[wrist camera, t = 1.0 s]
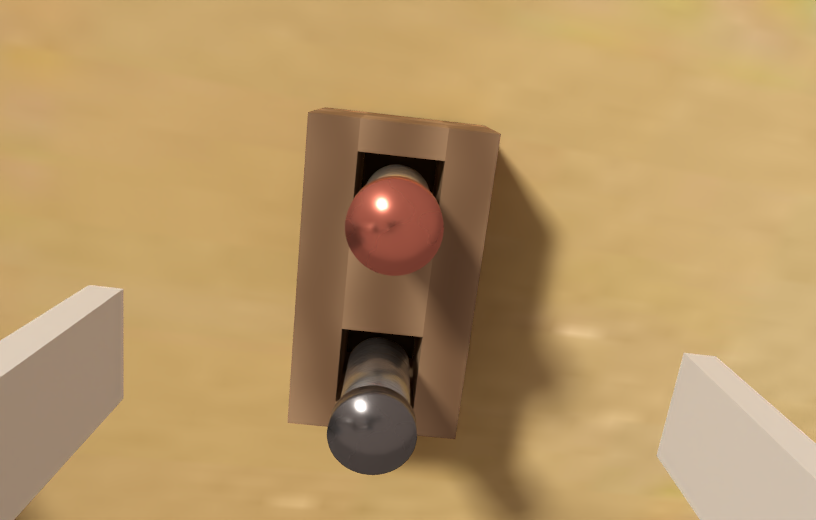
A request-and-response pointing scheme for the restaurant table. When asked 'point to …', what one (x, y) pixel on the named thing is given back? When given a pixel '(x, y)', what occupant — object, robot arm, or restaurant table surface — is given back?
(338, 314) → the block
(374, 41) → the restaurant table surface
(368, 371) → the plug grey
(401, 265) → the plug red
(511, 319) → the restaurant table surface
